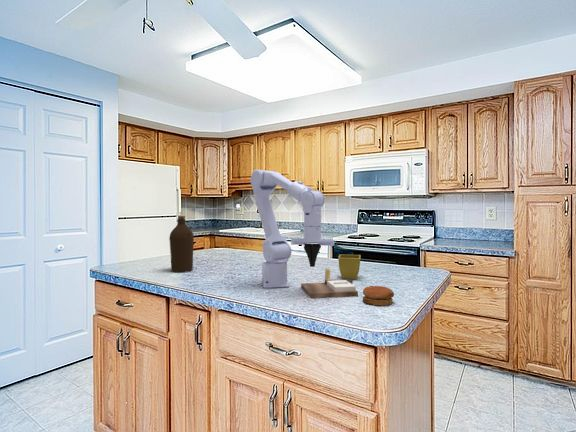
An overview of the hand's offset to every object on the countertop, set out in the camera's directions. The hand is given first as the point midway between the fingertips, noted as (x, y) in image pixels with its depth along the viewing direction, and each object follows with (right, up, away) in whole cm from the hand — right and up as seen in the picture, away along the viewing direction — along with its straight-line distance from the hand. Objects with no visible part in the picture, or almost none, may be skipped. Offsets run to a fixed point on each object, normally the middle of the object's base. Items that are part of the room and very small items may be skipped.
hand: (312, 266), depth 121 cm
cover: (+10, -8, +2) cm, 13 cm away
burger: (+20, -10, -10) cm, 24 cm away
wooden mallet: (+10, -7, +9) cm, 15 cm away
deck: (+6, -9, +3) cm, 11 cm away
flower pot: (+17, -9, +25) cm, 32 cm away
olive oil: (-57, -8, +42) cm, 71 cm away
